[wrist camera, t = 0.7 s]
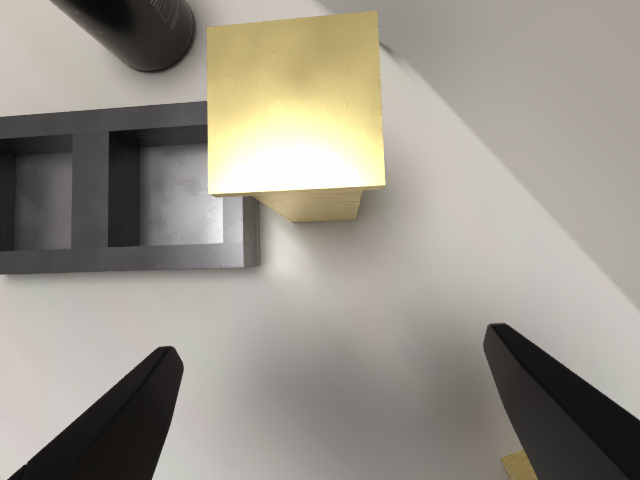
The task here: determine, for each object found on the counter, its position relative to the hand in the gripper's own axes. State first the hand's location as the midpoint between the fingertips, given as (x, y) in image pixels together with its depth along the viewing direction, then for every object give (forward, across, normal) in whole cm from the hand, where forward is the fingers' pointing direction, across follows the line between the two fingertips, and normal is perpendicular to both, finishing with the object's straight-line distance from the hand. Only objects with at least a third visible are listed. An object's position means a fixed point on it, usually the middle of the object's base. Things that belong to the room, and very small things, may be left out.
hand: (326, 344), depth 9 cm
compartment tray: (+15, +15, +1) cm, 21 cm away
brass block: (+15, 0, +1) cm, 15 cm away
